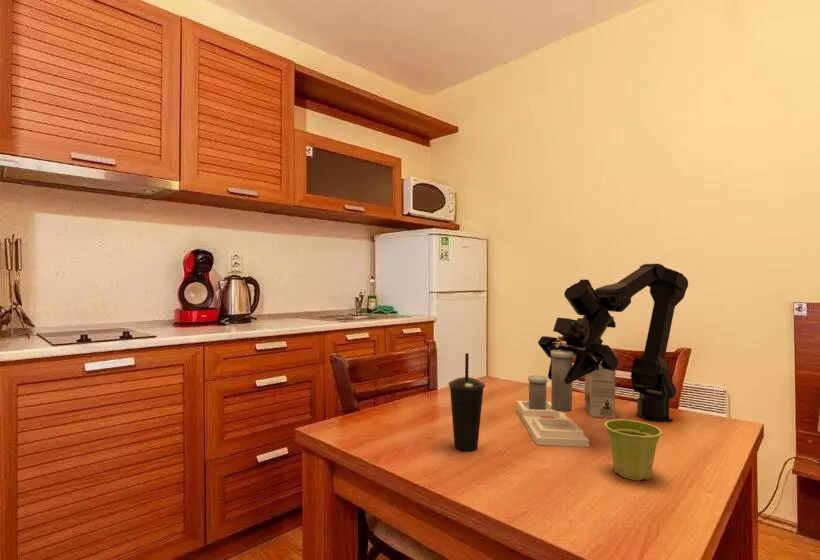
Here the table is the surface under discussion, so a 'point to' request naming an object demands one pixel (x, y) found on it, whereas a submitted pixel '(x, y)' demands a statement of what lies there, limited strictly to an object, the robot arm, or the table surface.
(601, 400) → the coffee box
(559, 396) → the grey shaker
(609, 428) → the plant pot
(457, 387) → the drinking cup
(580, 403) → the table surface
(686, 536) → the table surface
